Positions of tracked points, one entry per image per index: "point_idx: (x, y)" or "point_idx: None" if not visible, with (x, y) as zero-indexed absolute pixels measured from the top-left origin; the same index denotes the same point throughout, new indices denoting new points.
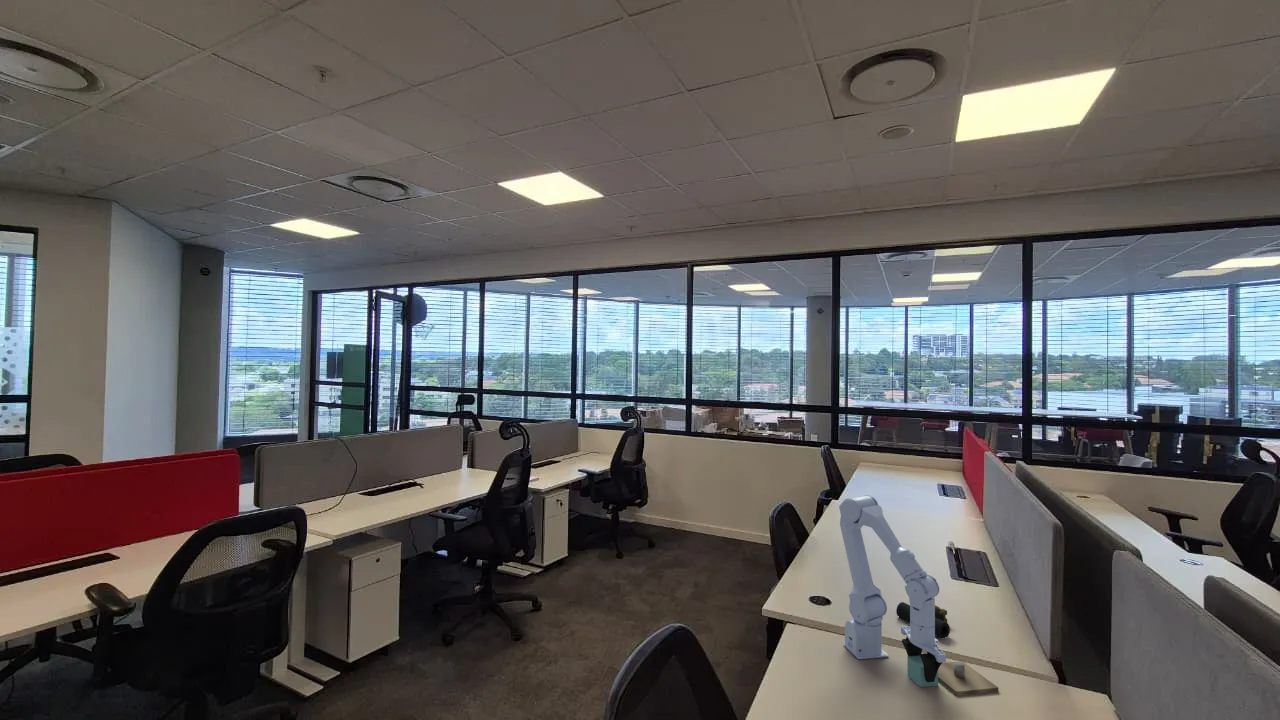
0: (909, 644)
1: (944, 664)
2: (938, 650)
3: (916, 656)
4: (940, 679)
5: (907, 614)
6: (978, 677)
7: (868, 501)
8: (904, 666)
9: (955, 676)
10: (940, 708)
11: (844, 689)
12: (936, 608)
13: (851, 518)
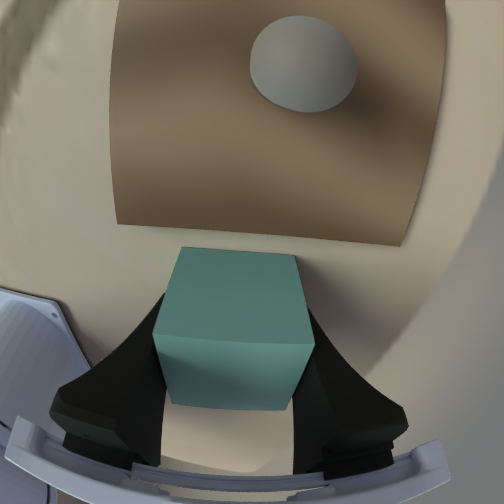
0: (155, 460)
1: (131, 73)
2: (391, 496)
3: (172, 378)
4: (281, 233)
5: None
6: None
7: None
8: (114, 289)
9: (289, 110)
10: (394, 337)
11: (231, 439)
12: None
13: None
